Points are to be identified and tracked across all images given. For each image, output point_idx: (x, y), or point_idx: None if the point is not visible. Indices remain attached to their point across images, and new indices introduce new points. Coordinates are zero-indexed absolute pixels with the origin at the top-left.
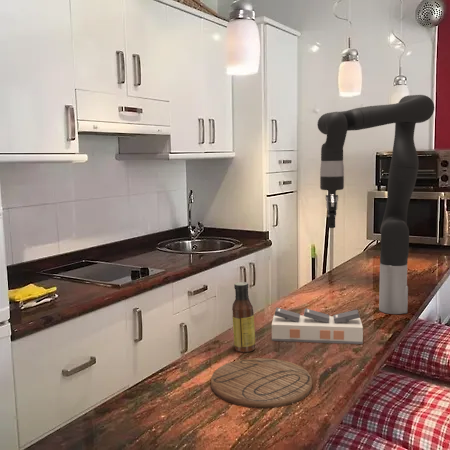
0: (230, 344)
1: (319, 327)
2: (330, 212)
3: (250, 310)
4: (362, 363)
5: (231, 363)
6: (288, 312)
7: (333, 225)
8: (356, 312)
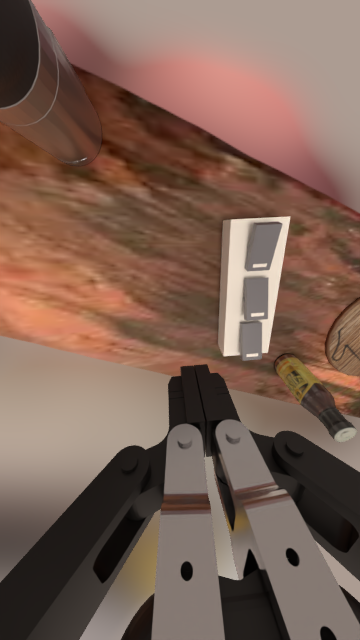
0: (269, 377)
1: (276, 289)
2: (303, 490)
3: (327, 390)
4: (347, 222)
5: (338, 367)
6: (251, 341)
7: (221, 379)
8: (273, 228)
